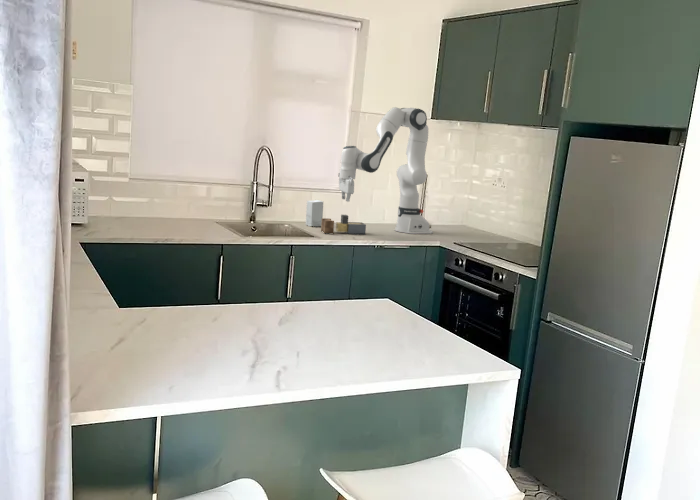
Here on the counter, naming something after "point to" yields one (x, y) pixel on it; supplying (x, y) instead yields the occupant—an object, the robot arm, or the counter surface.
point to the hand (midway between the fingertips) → (345, 200)
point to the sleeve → (356, 228)
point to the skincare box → (314, 213)
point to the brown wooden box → (327, 225)
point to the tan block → (343, 224)
